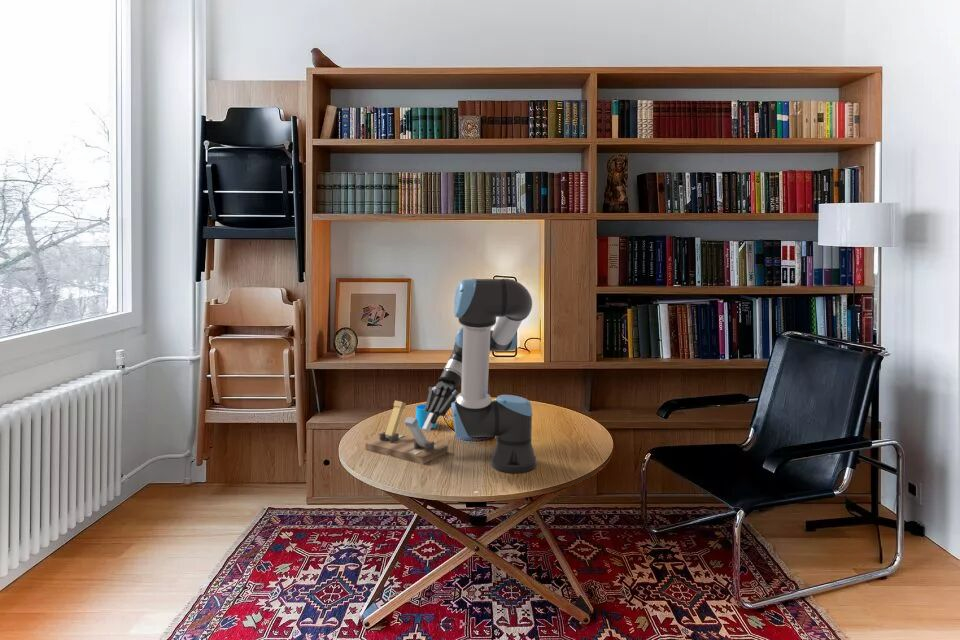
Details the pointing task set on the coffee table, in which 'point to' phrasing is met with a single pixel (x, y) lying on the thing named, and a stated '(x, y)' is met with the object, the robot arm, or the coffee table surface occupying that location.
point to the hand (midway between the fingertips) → (425, 430)
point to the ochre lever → (395, 418)
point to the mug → (422, 415)
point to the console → (406, 448)
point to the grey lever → (416, 431)
